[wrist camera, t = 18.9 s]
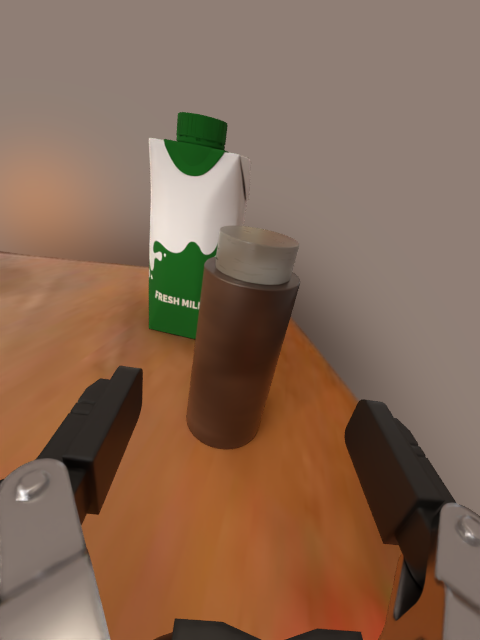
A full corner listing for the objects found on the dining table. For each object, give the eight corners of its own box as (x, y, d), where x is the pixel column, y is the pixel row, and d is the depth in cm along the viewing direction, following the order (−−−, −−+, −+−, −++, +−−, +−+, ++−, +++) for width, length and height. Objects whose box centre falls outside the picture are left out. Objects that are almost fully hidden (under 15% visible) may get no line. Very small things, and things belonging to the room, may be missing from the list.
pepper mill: (173, 433, 20) (191, 231, 14) (203, 384, 25) (227, 219, 19) (249, 461, 19) (307, 258, 13) (264, 405, 24) (312, 238, 18)
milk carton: (136, 331, 31) (137, 102, 21) (168, 299, 39) (178, 123, 29) (216, 349, 30) (252, 123, 21) (231, 313, 38) (262, 138, 29)
